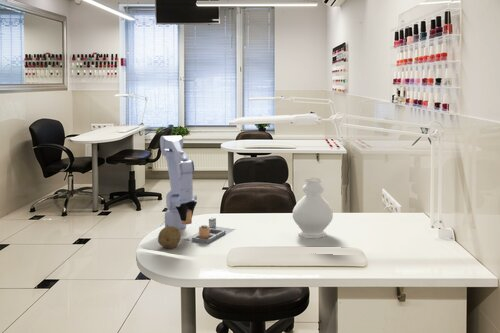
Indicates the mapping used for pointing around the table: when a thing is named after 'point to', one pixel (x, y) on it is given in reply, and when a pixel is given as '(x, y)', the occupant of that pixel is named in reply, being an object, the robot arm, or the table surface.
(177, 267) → the table surface
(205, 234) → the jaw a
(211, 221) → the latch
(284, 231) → the table surface
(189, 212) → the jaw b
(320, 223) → the decorative vase
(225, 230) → the housing
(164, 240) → the natural sponge
